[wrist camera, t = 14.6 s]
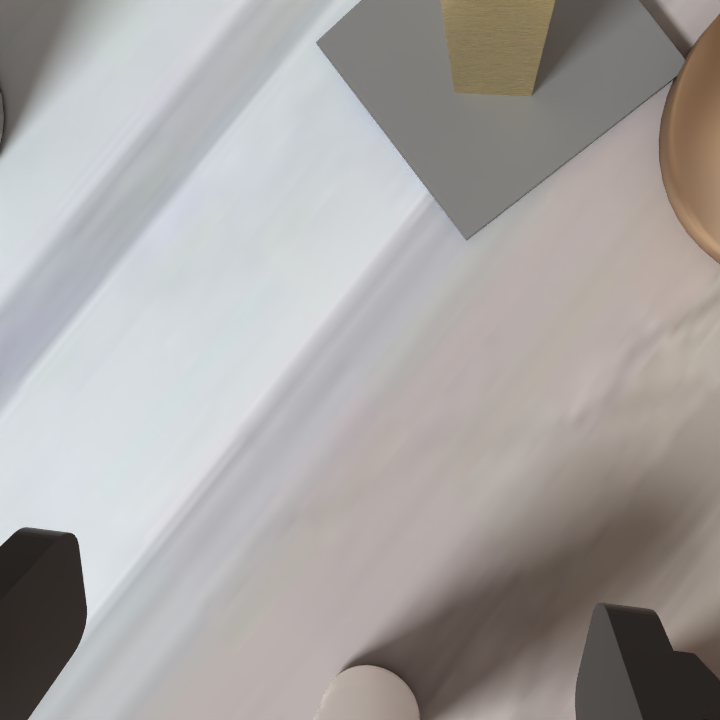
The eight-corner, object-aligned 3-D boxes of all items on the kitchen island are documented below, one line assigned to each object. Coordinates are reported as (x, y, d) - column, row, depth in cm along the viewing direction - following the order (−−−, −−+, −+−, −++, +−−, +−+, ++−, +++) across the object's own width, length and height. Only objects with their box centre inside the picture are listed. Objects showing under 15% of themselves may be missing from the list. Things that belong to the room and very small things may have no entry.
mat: (318, 47, 31) (315, 42, 30) (522, -141, 28) (522, -149, 28) (466, 240, 31) (466, 239, 30) (685, 70, 28) (689, 65, 28)
